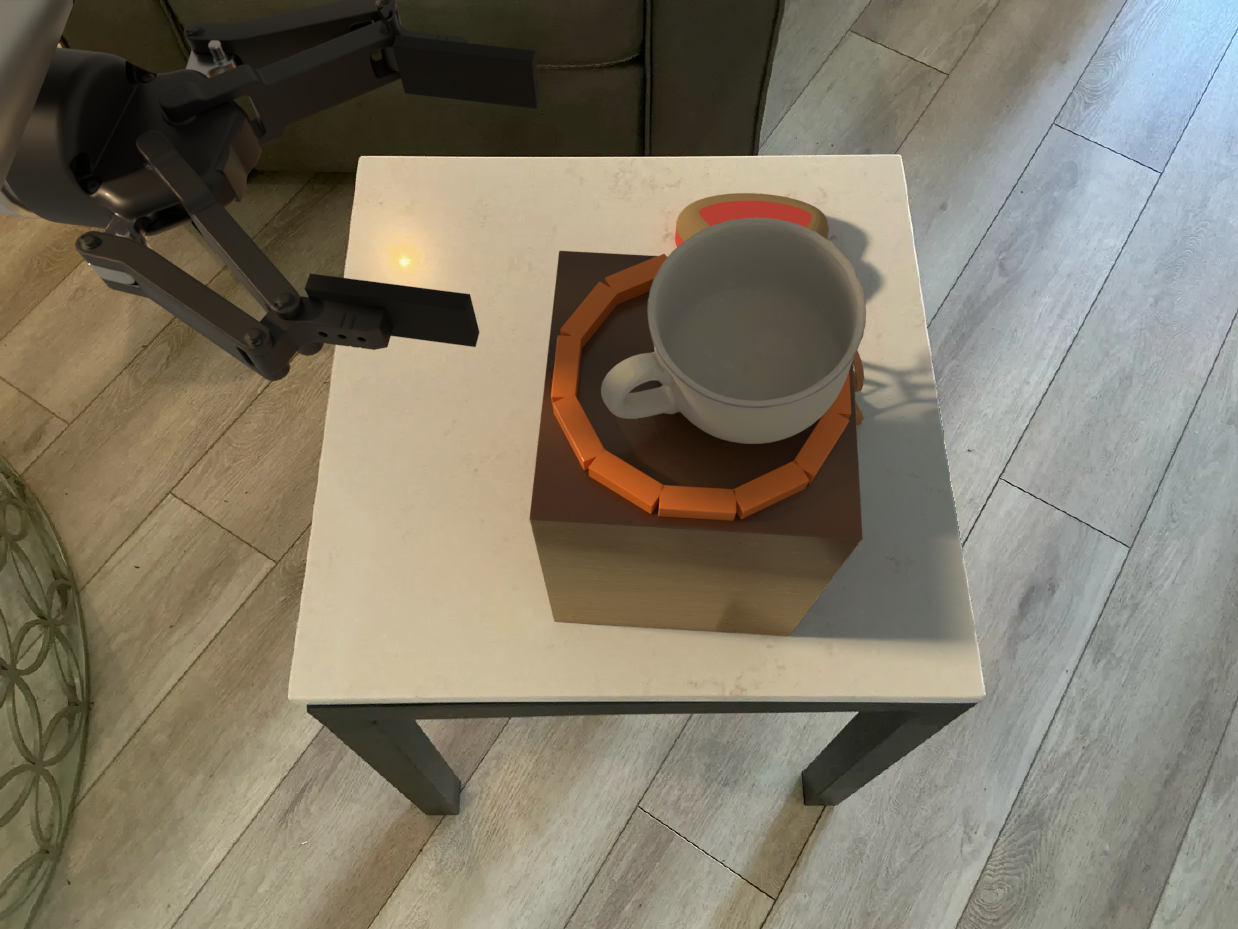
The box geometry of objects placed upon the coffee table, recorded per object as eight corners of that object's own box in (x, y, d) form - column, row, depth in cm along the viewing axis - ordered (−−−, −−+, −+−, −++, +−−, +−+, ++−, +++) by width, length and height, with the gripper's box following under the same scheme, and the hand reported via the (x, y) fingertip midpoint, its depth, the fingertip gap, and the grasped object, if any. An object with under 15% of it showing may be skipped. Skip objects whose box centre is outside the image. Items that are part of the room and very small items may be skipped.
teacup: (813, 281, 53) (820, 189, 46) (882, 436, 48) (902, 360, 41) (590, 350, 53) (563, 269, 46) (637, 510, 49) (615, 448, 41)
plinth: (789, 636, 68) (863, 539, 48) (553, 621, 68) (529, 519, 48) (785, 426, 75) (848, 265, 55) (573, 413, 75) (559, 250, 55)
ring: (851, 528, 48) (856, 520, 47) (541, 509, 48) (539, 501, 47) (838, 273, 55) (843, 260, 54) (567, 258, 55) (566, 245, 54)
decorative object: (859, 295, 76) (687, 318, 75) (848, 320, 79) (684, 342, 78) (819, 173, 82) (658, 193, 80) (811, 201, 85) (657, 220, 84)
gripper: (179, 17, 49) (561, 60, 47) (-26, 416, 38) (456, 485, 37) (108, -122, 42) (552, -76, 41) (-164, 317, 31) (421, 397, 30)
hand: (507, 192), depth 39 cm, fingers open, 13 cm apart
